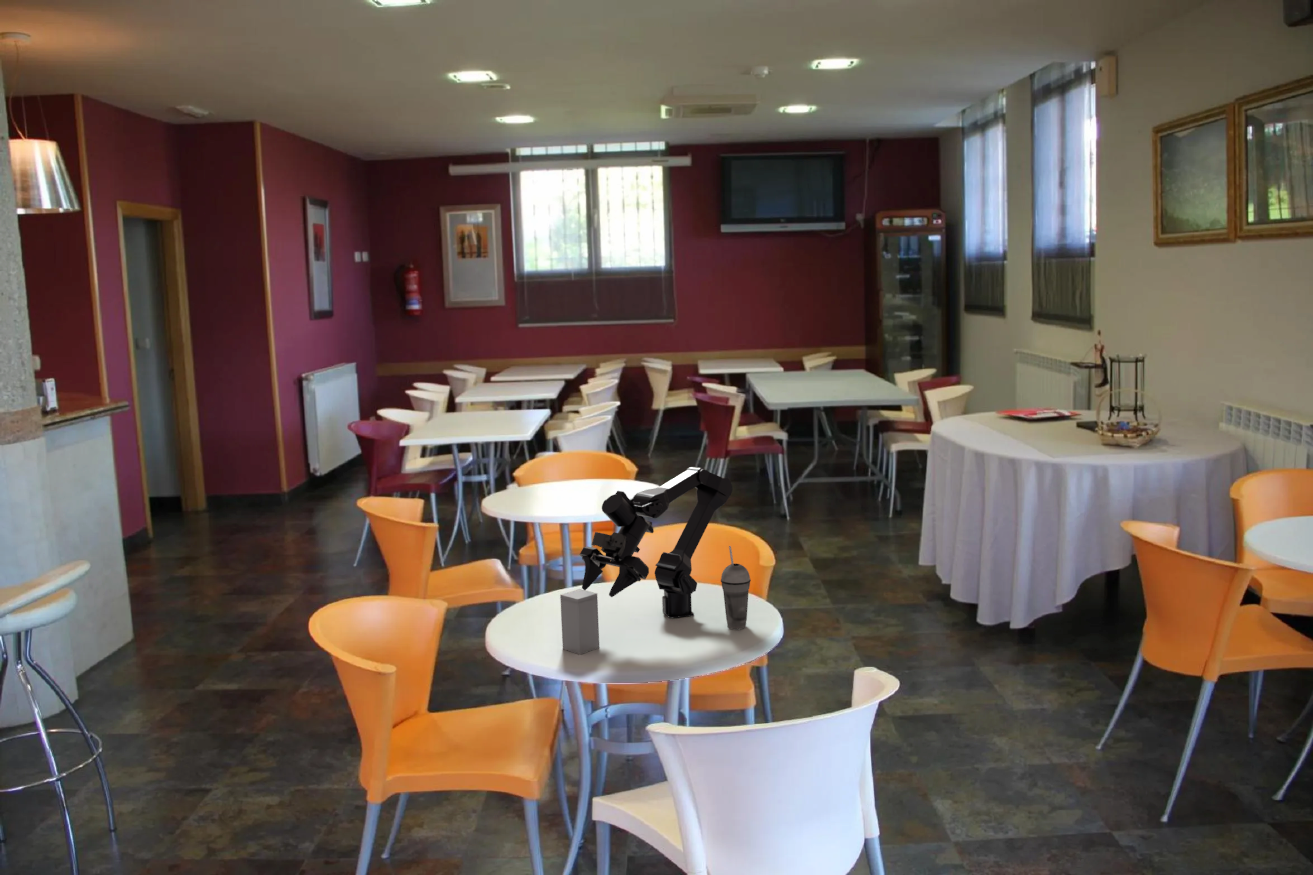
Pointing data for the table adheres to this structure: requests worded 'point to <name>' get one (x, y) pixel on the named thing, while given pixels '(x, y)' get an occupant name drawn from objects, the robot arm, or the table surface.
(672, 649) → the table surface
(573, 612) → the smooth gray cuboid
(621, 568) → the robot arm
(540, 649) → the table surface
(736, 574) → the beverage cup
